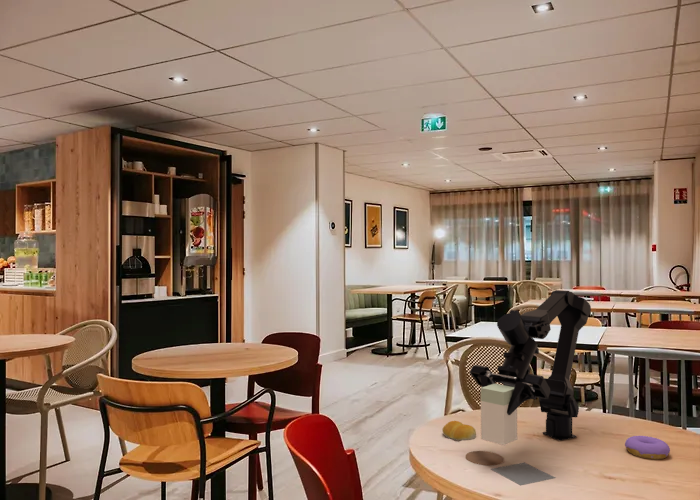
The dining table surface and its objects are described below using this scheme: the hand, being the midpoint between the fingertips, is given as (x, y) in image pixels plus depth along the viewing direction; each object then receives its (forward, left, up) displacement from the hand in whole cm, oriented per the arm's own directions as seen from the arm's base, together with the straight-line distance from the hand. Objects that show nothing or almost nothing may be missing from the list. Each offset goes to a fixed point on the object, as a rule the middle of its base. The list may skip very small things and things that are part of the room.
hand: (495, 411), depth 129 cm
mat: (-3, +5, -13) cm, 15 cm away
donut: (-41, +7, -14) cm, 44 cm away
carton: (-1, 0, -7) cm, 7 cm away
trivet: (-1, -6, -13) cm, 14 cm away
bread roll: (-6, -23, -14) cm, 27 cm away
